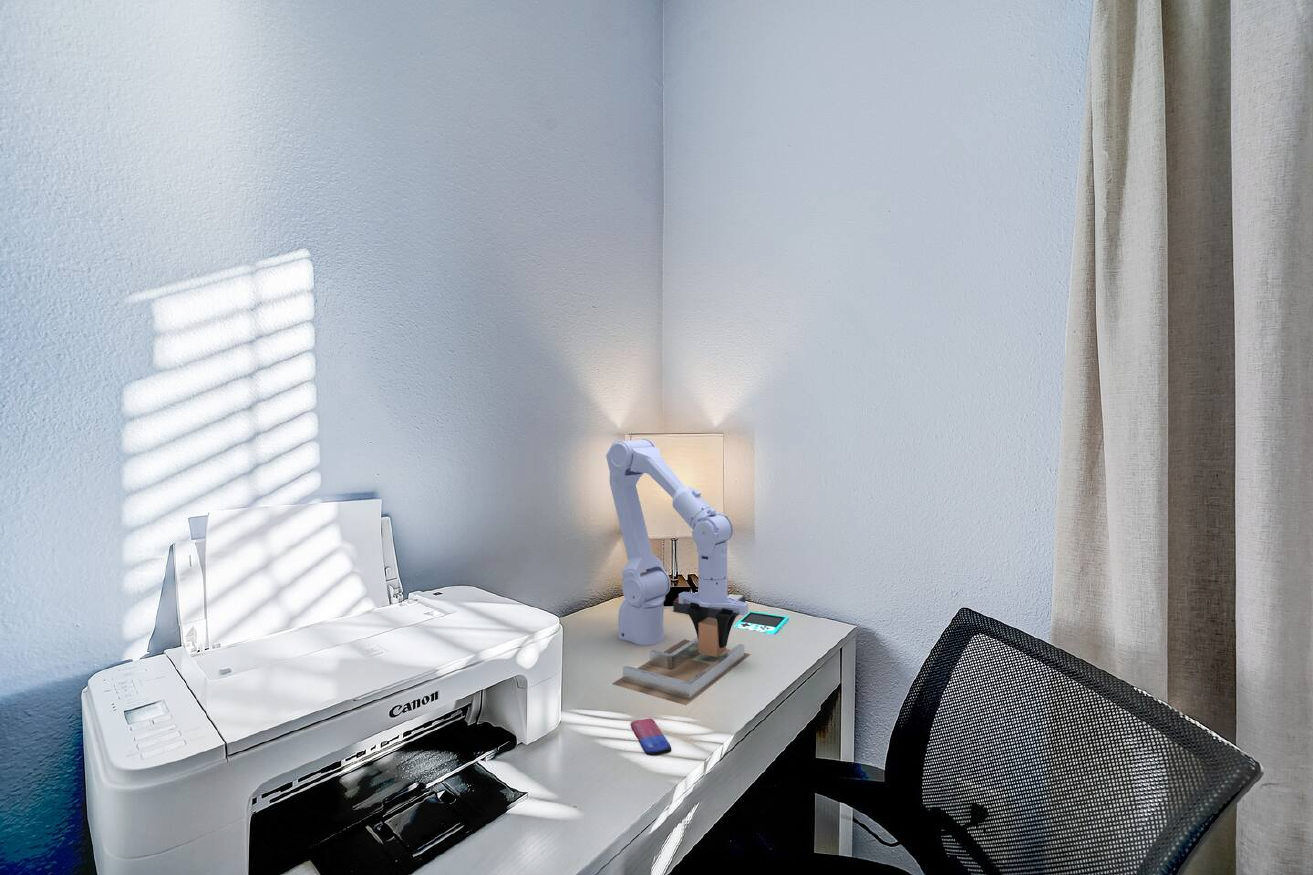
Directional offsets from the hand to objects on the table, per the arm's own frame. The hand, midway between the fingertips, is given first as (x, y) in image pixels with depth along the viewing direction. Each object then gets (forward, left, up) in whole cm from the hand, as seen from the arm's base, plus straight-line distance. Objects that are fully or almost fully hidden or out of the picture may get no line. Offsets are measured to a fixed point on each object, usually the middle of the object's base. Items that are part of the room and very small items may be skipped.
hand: (712, 643), depth 126 cm
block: (0, 0, -2) cm, 2 cm away
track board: (-2, -7, -4) cm, 8 cm away
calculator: (-16, +29, -5) cm, 33 cm away
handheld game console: (-1, +25, -5) cm, 25 cm away
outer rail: (-2, -7, -3) cm, 8 cm away
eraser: (+6, -32, -4) cm, 32 cm away
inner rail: (-6, -3, -3) cm, 8 cm away
